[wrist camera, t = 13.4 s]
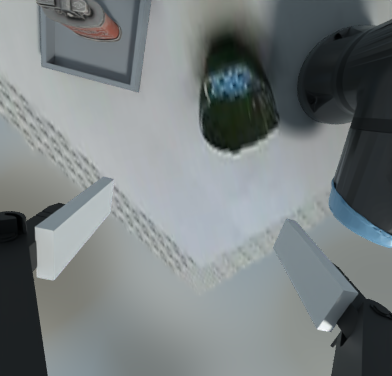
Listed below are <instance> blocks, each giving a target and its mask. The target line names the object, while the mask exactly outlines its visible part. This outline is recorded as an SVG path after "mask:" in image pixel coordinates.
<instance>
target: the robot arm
mask: <svg viewBox="0 0 392 376" xmlns="http://www.w3.org/2000/svg"><path fill="white" fill-rule="evenodd" d="M298 97H299V101H300V104H301V106H302V108H303V110H304V111H305V112H306V113H307V115H308V116H310V117H311V118H312V119H314V120H316V121H318V122H321V123H327V124H344V123H349V122H352V123H351V126H350V128H349V132H348V135H347V138H346V142H345V145H344V148H343V152H342V155H341V158H340V161H339V164H338V167H337V170H336V174H335V177H334V178H333V179H332V183H331V184H332V189H331V193H330V197H329V208H330V210H331V211H332V213H333V215H334V216H335V218H336V219H337V220H338V221H339V222H341V223H342V224H343V225H344V226H346V227H347V228H348V229H350V230H351V231H353V232H354V233H356V234H358V235H360V236H361V237H363V238H365V239H367V240H369V241H372V242H374V243H376V244H379V245H382V246H385V247H388V248H391V247H392V19H391V20H389V21H387V22H385V23H382V24H380V25H378V26H369V25H358V26H351V27H347V28H344V29H342V30H339V31H337V32H336V33H334V34H332V35H330V36H328V37H327V38H325V39H324V40H322V41H321V42H320V43H319V44H318V45H316V46H315V48H314V49H313V50H312V51H311V52H310V54H309V55H308V56H307V58H306V60H305V62H304V64H303V66H302V68H301V71H300V74H299V78H298ZM113 186H114V179H111V178H107V177H102V178H101V179H100V180H98V181H97V182H95V183H94V184H93V185H91V186H90V187H89V188H87V189H86V190H84V191H83V192H82V193H80V194H79V195H78V196H76V197H75V198H74V199H72V200H71V201H70V202H68V203H67V204H62V203H58V204H54V205H51V206H49V207H47V208H46V209H44V210H43V211H42V212H40V213H38V214H36V216H33V217H32V218H30V219H29V220H27V221H26V217H25V215H24V214H22V213H20V212H13V211H11V212H10V211H6V212H0V376H48V375H47V368H46V361H45V354H44V347H43V341H42V334H41V327H40V320H39V313H38V306H37V299H36V292H35V286H34V279H33V273H32V272H33V271H34V270H35V268H36V269H37V277H38V278H43V279H48V280H55V279H56V278H57V276H58V275H59V274H60V273H61V272H62V270H63V269H64V268H65V267H66V265H67V264H68V263H69V262H70V261H71V260H72V258H73V257H74V256H75V255H76V253H77V252H78V251H79V250H80V249H81V247H82V246H83V245H84V244H85V242H86V241H87V240H88V239H89V238H90V237H91V235H92V234H93V233H94V232H95V231H96V229H97V228H98V227H99V226H100V225H101V223H102V222H103V221H104V220H105V219H106V217H107V216H108V215H109V214H110V213H111V204H112V195H113ZM273 249H274V250H275V252H276V254H277V256H278V258H279V260H280V262H281V263H282V265H283V267H284V269H285V271H286V273H287V275H288V276H289V278H290V280H291V282H292V284H293V286H294V288H295V289H296V291H297V293H298V295H299V297H300V299H301V300H302V302H303V304H304V306H305V308H306V310H307V312H308V314H309V315H310V317H311V319H312V321H313V323H314V325H315V326H316V328H317V329H318V330H323V331H328V332H331V331H332V330H333V328H334V327H335V325H336V324H337V325H338V326H339V328H340V329H341V332H340V333H339V335H338V336H337V338H336V339H335V340H334V342H333V343H332V344H331V347H334V346H335V345H336V350H335V356H334V362H333V368H332V374H331V376H392V313H391V312H390V311H389V310H388V309H387V308H385V307H384V306H382V305H381V304H379V303H377V302H375V301H373V300H370V299H366V298H365V297H364V296H363V295H362V294H361V292H360V291H359V290H358V289H357V288H356V287H355V286H354V284H353V283H352V282H351V281H349V279H348V278H347V277H346V276H345V275H344V273H343V272H342V271H341V270H340V269H339V267H337V266H336V265H335V264H334V263H332V262H331V261H330V260H329V259H328V258H327V256H326V255H325V254H324V253H323V252H322V251H321V249H320V248H319V247H318V246H317V245H316V244H315V243H314V241H313V240H312V239H311V238H310V237H309V236H308V234H307V233H306V232H305V231H304V230H303V229H302V227H301V226H300V225H299V224H298V223H297V222H296V221H294V220H290V219H286V221H285V223H284V225H283V227H282V229H281V231H280V234H279V236H278V238H277V240H276V242H275V244H274V247H273Z"/></svg>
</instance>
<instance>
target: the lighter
mask: <svg viewBox="0 0 392 376" xmlns="http://www.w3.org/2000/svg"><path fill="white" fill-rule="evenodd" d="M36 3H37V4H38V5H39V6H41V7H42V9H43V12H44V14H45V15H46V16H47V17H48V18H50V19H52V20H53V21H56V22H58V23H61V24H63V25H64V26H66V27H67V28H69V29H71V30H72V31H73V32H74V33H75V34H76V35H78V36H80V37H83V38H85V39H88V40H92V41H97V42H117V41H119V40H120V39H121V37H122V30H121V27H120V26H119V25H118V24H117V23H116V22H115V21H113V20H112V19H111V18H110V17H109V16H108V15H107V14H106V13H105V12H104V10H103V8H102V7H101V6H100V5H99V4H98V3H97V2H95V1H93V0H36Z"/></svg>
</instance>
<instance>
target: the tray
mask: <svg viewBox="0 0 392 376" xmlns="http://www.w3.org/2000/svg"><path fill="white" fill-rule="evenodd" d="M93 1H95V2H97V3H98V4H99V5H100V6H101V7H102V8H103V10H104V12H105V13H106V14H107V15H108V16H109V17H110V18H111V19H112V20H113V21H115V22H116V23H117V24H118V25H119V26H120V27H121V30H122V37H121V39H120V40H119V41H117V42H97V41H92V40H88V39H85V38H83V37H80V36H78V35H76V34H75V33H74V32H73V31H72V30H71V29H69V28H67V27H66V26H64V25H63V24H61V23H58V22H56V21H53V20H52V19H50V18H48V17H47V16H46V15H45V14H44V12H43V9H42V7H41V6H40V18H41V65H42V67H45V68H49V69H52V70H56V71H60V72H64V73H67V74H71V75H75V76H79V77H83V78H86V79H90V80H94V81H98V82H101V83H105V84H109V85H113V86H116V87H120V88H124V89H128V90H131V91H135V92H139V88H140V80H141V73H142V66H143V58H144V51H145V43H146V36H147V28H148V21H149V13H150V6H151V0H93Z"/></svg>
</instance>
